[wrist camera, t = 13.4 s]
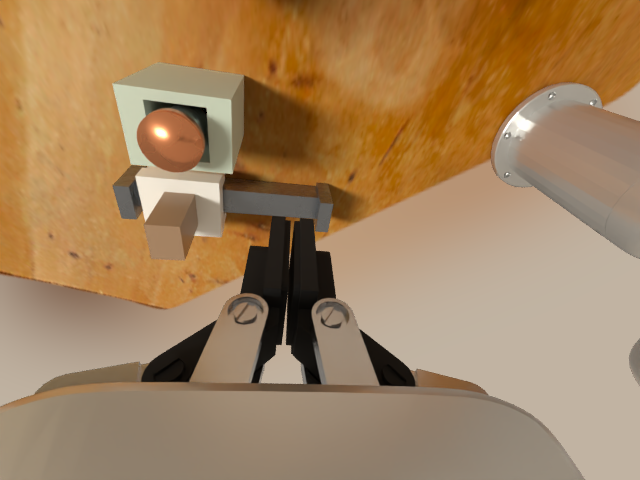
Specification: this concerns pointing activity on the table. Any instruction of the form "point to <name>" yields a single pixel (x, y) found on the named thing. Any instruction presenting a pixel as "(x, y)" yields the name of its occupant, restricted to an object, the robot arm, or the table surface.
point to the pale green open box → (187, 89)
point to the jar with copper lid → (173, 137)
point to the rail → (246, 198)
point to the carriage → (179, 209)
